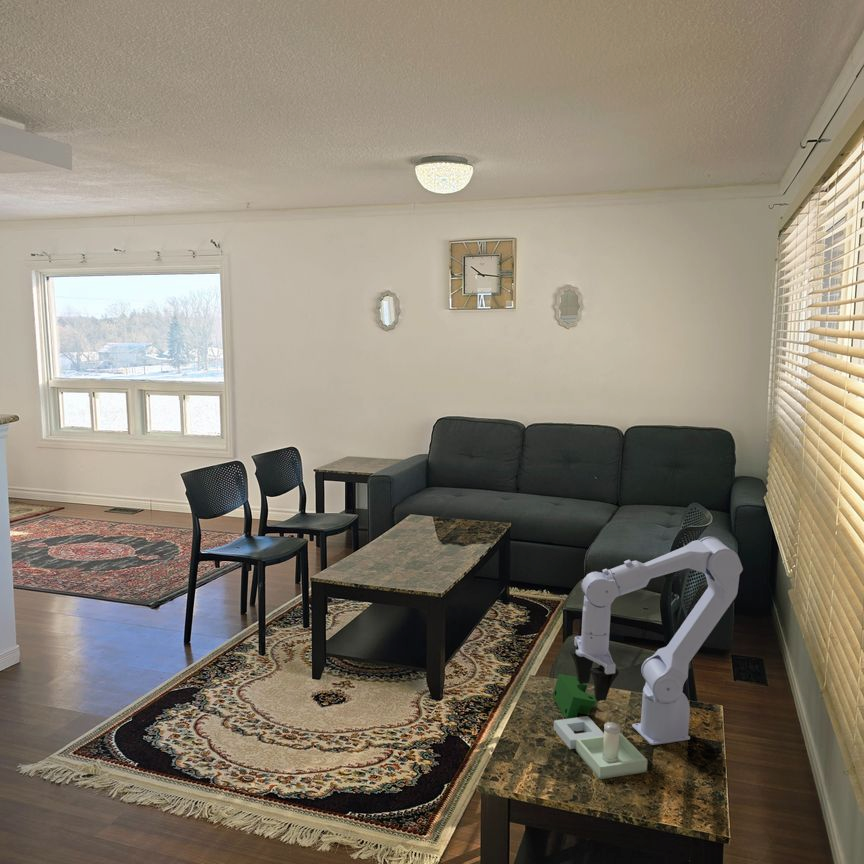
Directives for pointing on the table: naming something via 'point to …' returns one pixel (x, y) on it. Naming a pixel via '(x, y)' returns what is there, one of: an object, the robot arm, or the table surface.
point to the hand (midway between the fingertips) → (592, 691)
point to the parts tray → (626, 765)
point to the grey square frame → (568, 727)
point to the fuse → (611, 742)
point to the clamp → (572, 696)
